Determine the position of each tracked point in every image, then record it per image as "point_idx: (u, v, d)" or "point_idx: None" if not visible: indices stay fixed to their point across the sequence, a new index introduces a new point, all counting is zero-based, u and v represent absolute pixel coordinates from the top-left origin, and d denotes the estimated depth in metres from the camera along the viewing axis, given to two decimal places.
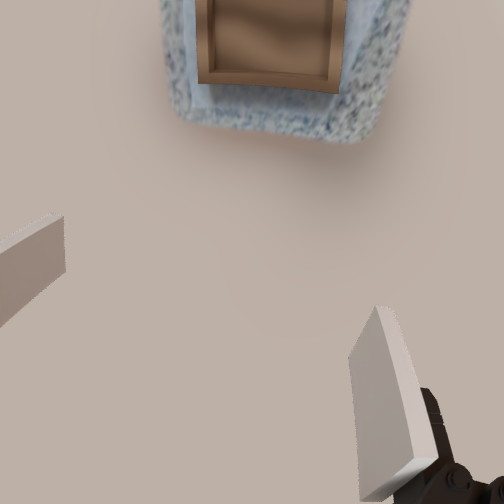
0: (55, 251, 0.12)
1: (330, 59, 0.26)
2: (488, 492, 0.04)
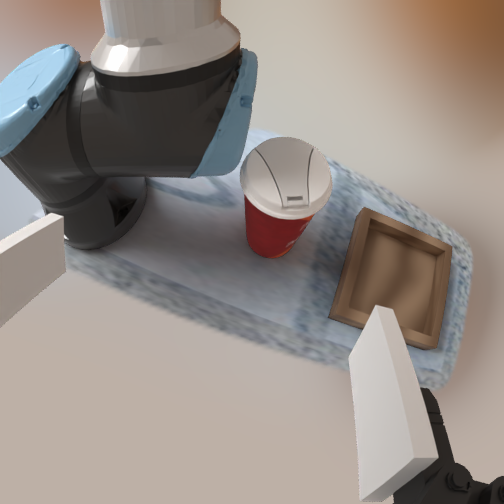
0: (55, 251, 0.12)
1: (432, 244, 0.38)
2: (488, 492, 0.04)
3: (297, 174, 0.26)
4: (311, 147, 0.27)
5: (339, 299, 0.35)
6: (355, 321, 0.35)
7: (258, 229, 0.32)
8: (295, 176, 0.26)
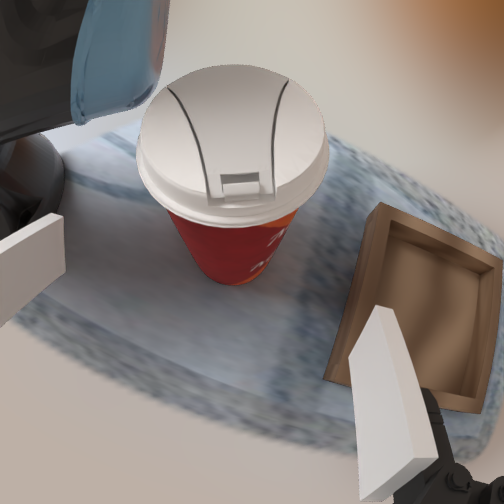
0: (55, 251, 0.12)
1: (478, 258, 0.24)
2: (488, 492, 0.04)
3: (249, 127, 0.11)
4: (283, 79, 0.13)
5: (341, 356, 0.21)
6: None
7: (191, 245, 0.17)
8: (245, 131, 0.11)
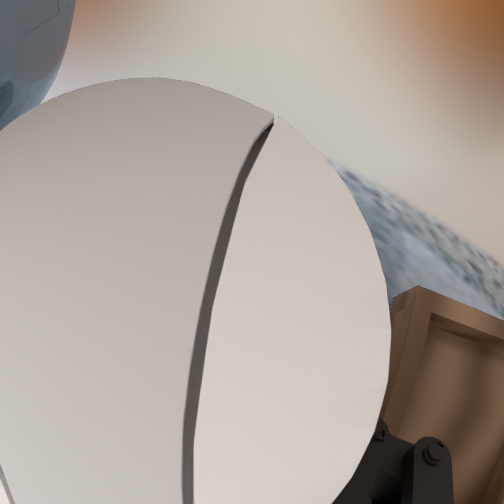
0: None
1: None
2: (410, 456, 0.06)
3: (107, 368, 0.03)
4: (255, 121, 0.04)
5: None
6: None
7: None
8: (92, 385, 0.03)
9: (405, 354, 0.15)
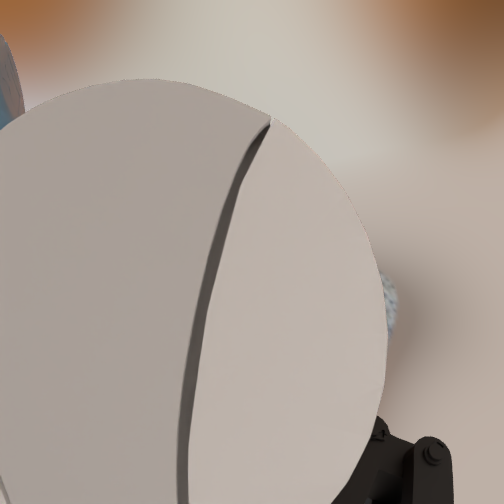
0: None
1: None
2: (410, 456, 0.06)
3: (102, 371, 0.03)
4: (251, 123, 0.04)
5: None
6: None
7: None
8: (87, 388, 0.03)
9: None
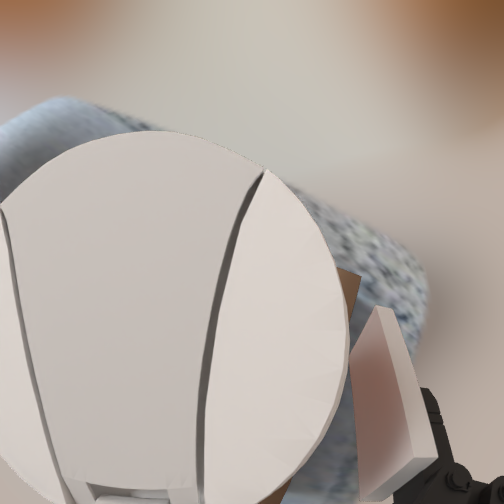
0: None
1: None
2: (488, 492, 0.04)
3: (144, 357, 0.04)
4: (249, 173, 0.05)
5: None
6: None
7: None
8: (132, 370, 0.04)
9: None
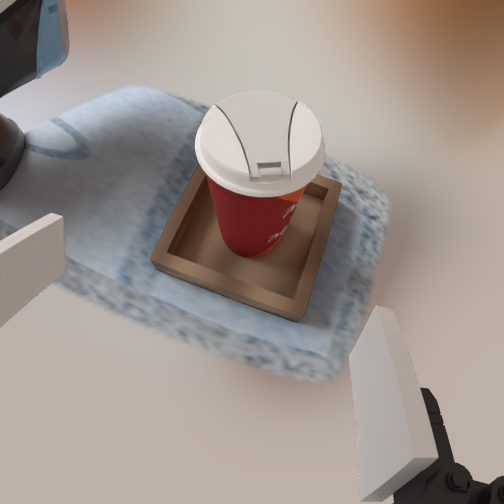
0: (55, 251, 0.12)
1: None
2: (488, 492, 0.04)
3: (273, 134, 0.18)
4: (294, 101, 0.19)
5: None
6: (175, 270, 0.28)
7: (227, 217, 0.23)
8: (271, 136, 0.18)
9: (198, 168, 0.32)
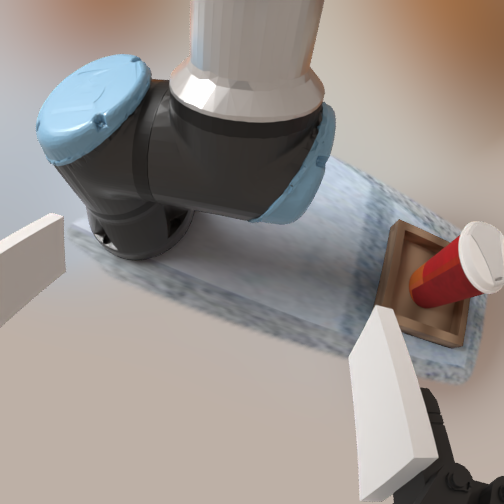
0: (55, 251, 0.12)
1: None
2: (488, 492, 0.04)
3: (497, 258, 0.27)
4: (499, 232, 0.28)
5: (381, 304, 0.38)
6: None
7: (449, 294, 0.32)
8: (496, 259, 0.27)
9: (396, 243, 0.40)
